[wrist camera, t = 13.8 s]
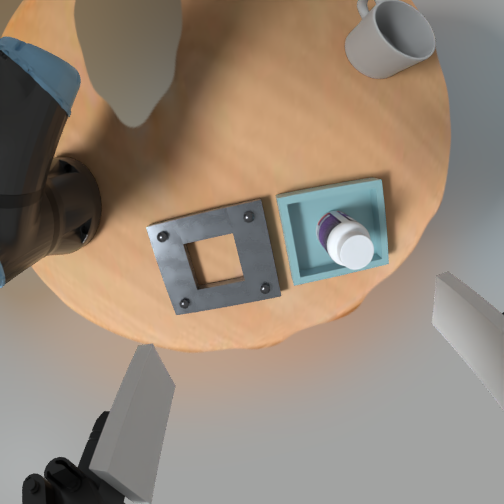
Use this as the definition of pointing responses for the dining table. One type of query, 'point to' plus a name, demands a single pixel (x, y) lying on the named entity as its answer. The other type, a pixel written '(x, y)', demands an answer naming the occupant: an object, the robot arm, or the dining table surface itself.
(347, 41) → the mug
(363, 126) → the dining table surface
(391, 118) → the dining table surface
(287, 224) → the tray
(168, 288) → the plate
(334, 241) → the pill bottle
